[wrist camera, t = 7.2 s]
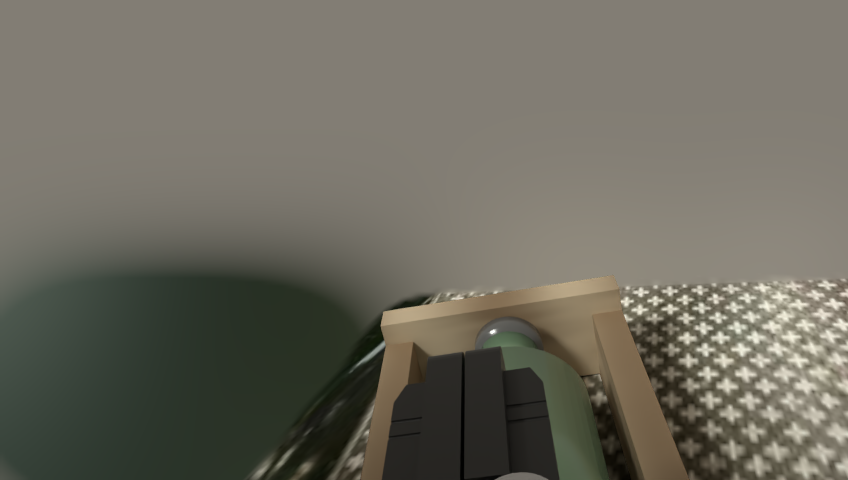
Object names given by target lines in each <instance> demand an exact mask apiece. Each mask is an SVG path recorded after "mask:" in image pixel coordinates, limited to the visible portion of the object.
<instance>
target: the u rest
mask: <svg viewBox="0 0 848 480" xmlns="http://www.w3.org/2000/svg"><path fill="white" fill-rule="evenodd" d="M508 316H509V317H518V318H522V319H524V320H526V321H528V322H530V323H531V324H533V325H534V326H535V327H536V328H537V330H538V331H539V333H540V335H541V337H542V342H543V348H544V351H545V352H548V353H550V354H553V355H555V356H556V357H558V358H560V359H562V360H563V361H565V362H566V363H567V364H569V365H570V366H571V367H572V368H573V369H574V370H575V371H576V372H577V373H578V375H579V376H585V375H592V374H600V375H601V379H602V382H603V386H604V389H605V392H606V396H607V399H608V403H609V406H610V409H611V413H612V416H613V420H614V423H615V426H616V430H617V433H618V436H619V440H620V443H621V447H622V450H623V453H624V457H625V460H626V464H627V467H628V470H629V474H630V477H631V480H689V477H688V475H687V472H686V470H685V467H684V465H683V462H682V460H681V457H680V455H679V452H678V450H677V447H676V445H675V442H674V440H673V437H672V435H671V432H670V430H669V427H668V425H667V422H666V420H665V417H664V415H663V412H662V410H661V407H660V405H659V402H658V400H657V397H656V395H655V392H654V390H653V387H652V385H651V382H650V380H649V377H648V375H647V372H646V370H645V367H644V365H643V362H642V360H641V357H640V355H639V352H638V350H637V347H636V345H635V342H634V340H633V337H632V335H631V332H630V330H629V327H628V325H627V322H626V320H625V317H624V315H623V312H622V309H621V300H620V291H619V287H618V285H617V282H616V280H615V278H614V275H612V276H605V277H599V278H593V279H586V280H580V281H573V282H567V283H561V284H555V285H548V286H542V287H536V288H529V289H523V290H517V291H510V292H504V293H498V294H492V295H485V296H479V297H473V298H466V299H460V300H454V301H447V302H441V303H435V304H429V305H422V306H416V307H410V308H403V309H397V310H391V311H384V313H383V317H382V322H381V329H382V333H383V336H384V340H385V344H386V349H385V354H384V359H383V364H382V369H381V375H380V380H379V385H378V390H377V395H376V400H375V406H374V411H373V416H372V421H371V426H370V431H369V437H368V442H367V447H366V452H365V457H364V462H363V468H362V473H361V478H360V480H382V475H383V468H384V462H385V455H386V449H387V442H388V440H389V437H388V436H389V430H390V425H391V417H392V410H393V404H394V401H395V400H396V399H397V397H398V396H399V394H400V393H401V391H402V390H403V389H404V387H405V386H406V385H408V384H415V383H422V382H425V379H426V369H427V359H428V357H430V356H437V355H444V354H451V353H458V352H464V355H465V352H466V351H470V350H475V339H476V336H477V334H478V332H479V331H480V329H481V328H482V327H483V326H484V325H485V324H487V323H488V322H490V321H491V320H494V319H496V318H500V317H508Z"/></svg>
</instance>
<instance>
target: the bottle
mask: <svg viewBox="0 0 848 480" xmlns="http://www.w3.org/2000/svg"><path fill="white" fill-rule="evenodd" d="M498 346H501V349H502V353H503V358H504V363H505V368H506V370H513V369H520V368H527V367H530V368H531V369H532V370H533V371H534V372H535V373H536V374H537V375H538V377H539V378H540V379H541V380H542V381H543V384H544V390H545V395H546V401H547V407H548V413H549V418H550V424H551V430H552V435H553V441H554V447H555V453H556V459H557V465H558V472H559V478H560V480H610V479H609V475H608V471H607V467H606V463H605V459H604V455H603V451H602V447H601V443H600V439H599V435H598V430H597V426H596V422H595V418H594V414H593V410H592V406H591V402H590V398H589V394H588V391H587V388H586V386H585V384H584V382H583V380H582V378H581V377H580V376H579V375H578V373H577V372H576V371H575V370H574V369H573V368H572V367H571V366H570V365H569V364H567V363H566V362H565V361H563V360H562V359H560V358H558V357H556V356H555V355H553V354H550V353H548V352H545V351H544V348H543V342H542V337H541V335H540V333H539V331H538V330H537V328H536V327H535V326H534V325H533V324H531V323H530V322H528V321H526V320H524V319H522V318H518V317H509V316H508V317H500V318H496V319H494V320H491V321H490V322H488V323H487V324H485V325H484V326H483V327H482V328H481V329H480V331H479V332H478V334H477V336H476V339H475V350H477V349H484V348H491V347H498Z"/></svg>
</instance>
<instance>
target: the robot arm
mask: <svg viewBox="0 0 848 480" xmlns="http://www.w3.org/2000/svg"><path fill="white" fill-rule="evenodd" d="M388 437H389V440H388V442H387V449H386V455H385V462H384V468H383V475H382V480H560V478H559V472H558V465H557V459H556V453H555V447H554V441H553V435H552V430H551V424H550V418H549V413H548V407H547V401H546V395H545V390H544V384H543V381H542V380H541V379H540V378H539V377H538V375H537V374H536V373H535V372H534V371H533V370H532V369H531V368H530V367H527V368H520V369H513V370H506V368H505V363H504V358H503V353H502V349H501V346H498V347H491V348H484V349H477V350H470V351H466V352H465V355H464V352H458V353H451V354H444V355H437V356H430V357H428V359H427V369H426V379H425V382H422V383H415V384H408V385H406V386H405V387H404V389H403V390H402V391H401V393H400V394H399V396H398V397H397V399H396V400H395V401H394V404H393V410H392V417H391V425H390V430H389V436H388Z"/></svg>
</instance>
